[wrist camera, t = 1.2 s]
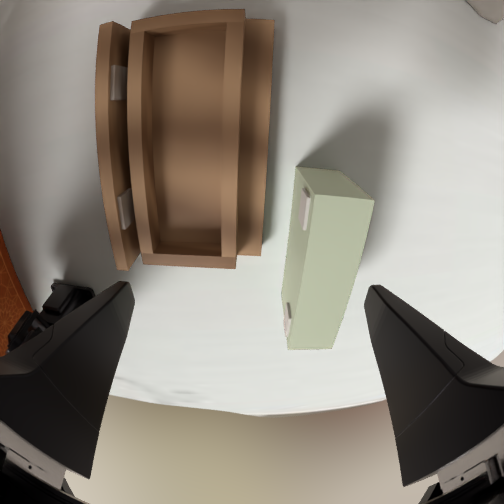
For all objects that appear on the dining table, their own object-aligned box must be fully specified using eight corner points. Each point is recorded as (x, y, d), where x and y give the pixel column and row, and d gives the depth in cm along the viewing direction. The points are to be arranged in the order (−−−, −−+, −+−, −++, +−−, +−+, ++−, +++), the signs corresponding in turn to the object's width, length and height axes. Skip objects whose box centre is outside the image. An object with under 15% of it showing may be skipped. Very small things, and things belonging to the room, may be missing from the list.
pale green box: (316, 293, 26) (331, 348, 20) (278, 293, 26) (285, 349, 20) (339, 170, 20) (374, 200, 14) (292, 165, 20) (311, 193, 14)
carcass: (260, 246, 23) (261, 277, 19) (137, 242, 23) (117, 269, 19) (273, 26, 14) (278, 5, 10) (127, 36, 14) (99, 25, 10)
